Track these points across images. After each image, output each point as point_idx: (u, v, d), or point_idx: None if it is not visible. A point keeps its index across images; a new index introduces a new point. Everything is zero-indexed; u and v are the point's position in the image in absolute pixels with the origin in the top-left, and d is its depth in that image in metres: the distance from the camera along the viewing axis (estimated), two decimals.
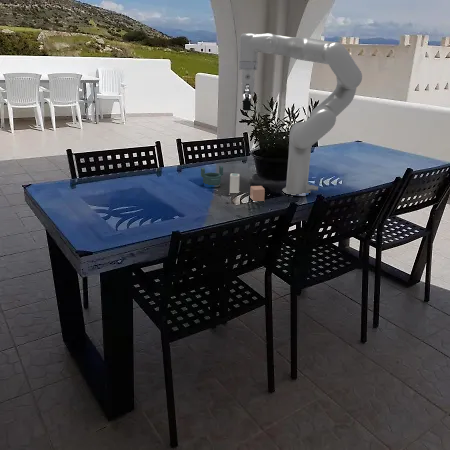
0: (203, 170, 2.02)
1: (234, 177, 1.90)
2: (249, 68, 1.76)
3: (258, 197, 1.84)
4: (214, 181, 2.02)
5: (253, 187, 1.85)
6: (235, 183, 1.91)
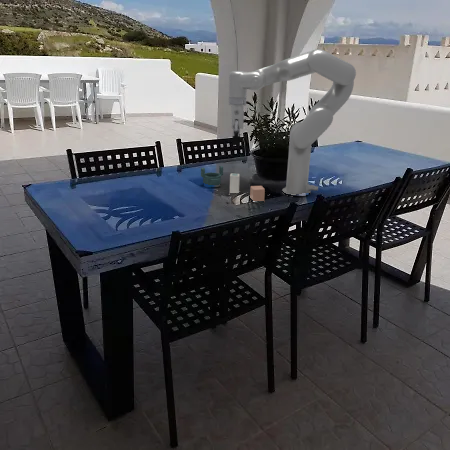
0: (203, 170, 2.02)
1: (234, 177, 1.90)
2: (238, 104, 1.84)
3: (258, 197, 1.84)
4: (214, 181, 2.02)
5: (253, 187, 1.86)
6: (235, 183, 1.91)
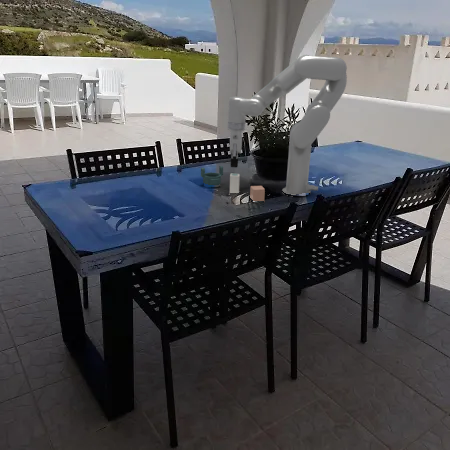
0: (203, 170, 2.02)
1: (234, 177, 1.90)
2: (237, 129, 1.88)
3: (258, 197, 1.84)
4: (214, 181, 2.02)
5: (253, 187, 1.85)
6: (235, 183, 1.91)
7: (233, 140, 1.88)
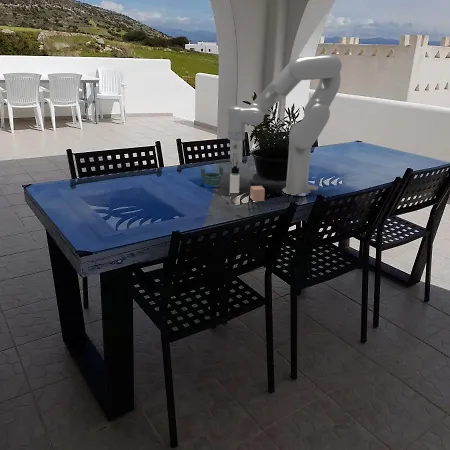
0: (203, 170, 2.02)
1: (234, 177, 1.90)
2: (237, 138, 1.86)
3: (258, 197, 1.84)
4: (214, 181, 2.02)
5: (253, 187, 1.85)
6: (235, 183, 1.91)
7: (233, 150, 1.87)
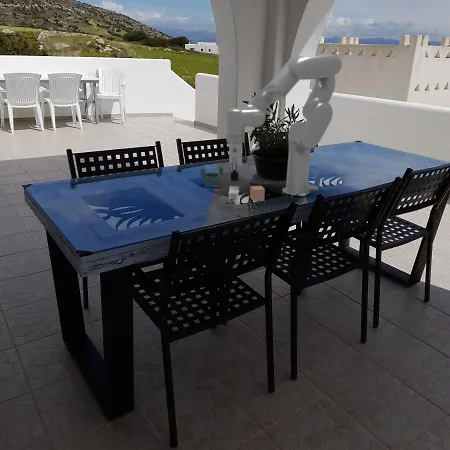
0: (203, 170, 2.02)
1: None
2: (236, 142, 1.80)
3: (258, 197, 1.84)
4: (214, 181, 2.02)
5: (253, 187, 1.86)
6: None
7: (232, 153, 1.81)
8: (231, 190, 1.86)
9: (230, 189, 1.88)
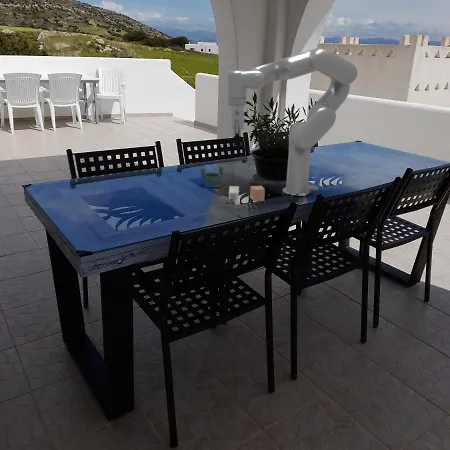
0: (203, 170, 2.02)
1: None
2: (238, 104, 1.79)
3: (258, 197, 1.84)
4: (214, 181, 2.02)
5: (253, 187, 1.85)
6: None
7: (235, 116, 1.80)
8: (231, 190, 1.86)
9: (230, 189, 1.88)
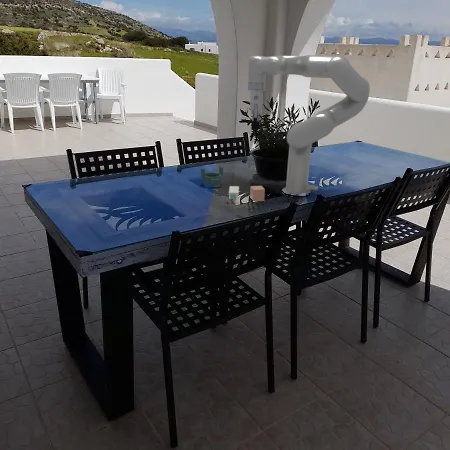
0: (203, 170, 2.02)
1: None
2: (257, 89, 1.84)
3: (258, 197, 1.84)
4: (214, 181, 2.02)
5: (253, 187, 1.86)
6: None
7: (254, 101, 1.84)
8: (231, 190, 1.86)
9: (230, 189, 1.88)
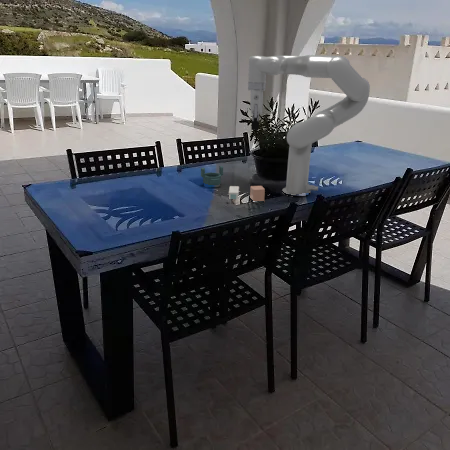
0: (203, 170, 2.02)
1: None
2: (258, 89, 1.84)
3: (258, 197, 1.84)
4: (214, 181, 2.02)
5: (253, 187, 1.85)
6: None
7: (254, 101, 1.84)
8: (231, 190, 1.86)
9: (230, 189, 1.88)
